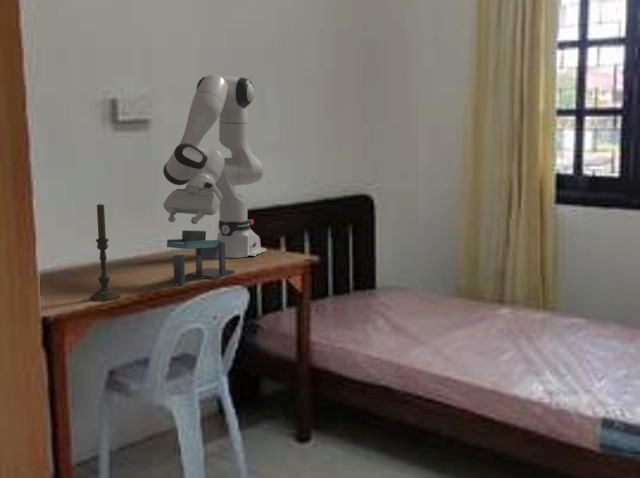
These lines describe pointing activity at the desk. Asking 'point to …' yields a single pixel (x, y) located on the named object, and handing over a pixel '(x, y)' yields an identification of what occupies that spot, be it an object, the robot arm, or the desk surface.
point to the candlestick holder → (103, 259)
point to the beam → (198, 246)
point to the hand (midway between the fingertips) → (181, 222)
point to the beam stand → (200, 267)
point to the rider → (193, 236)
